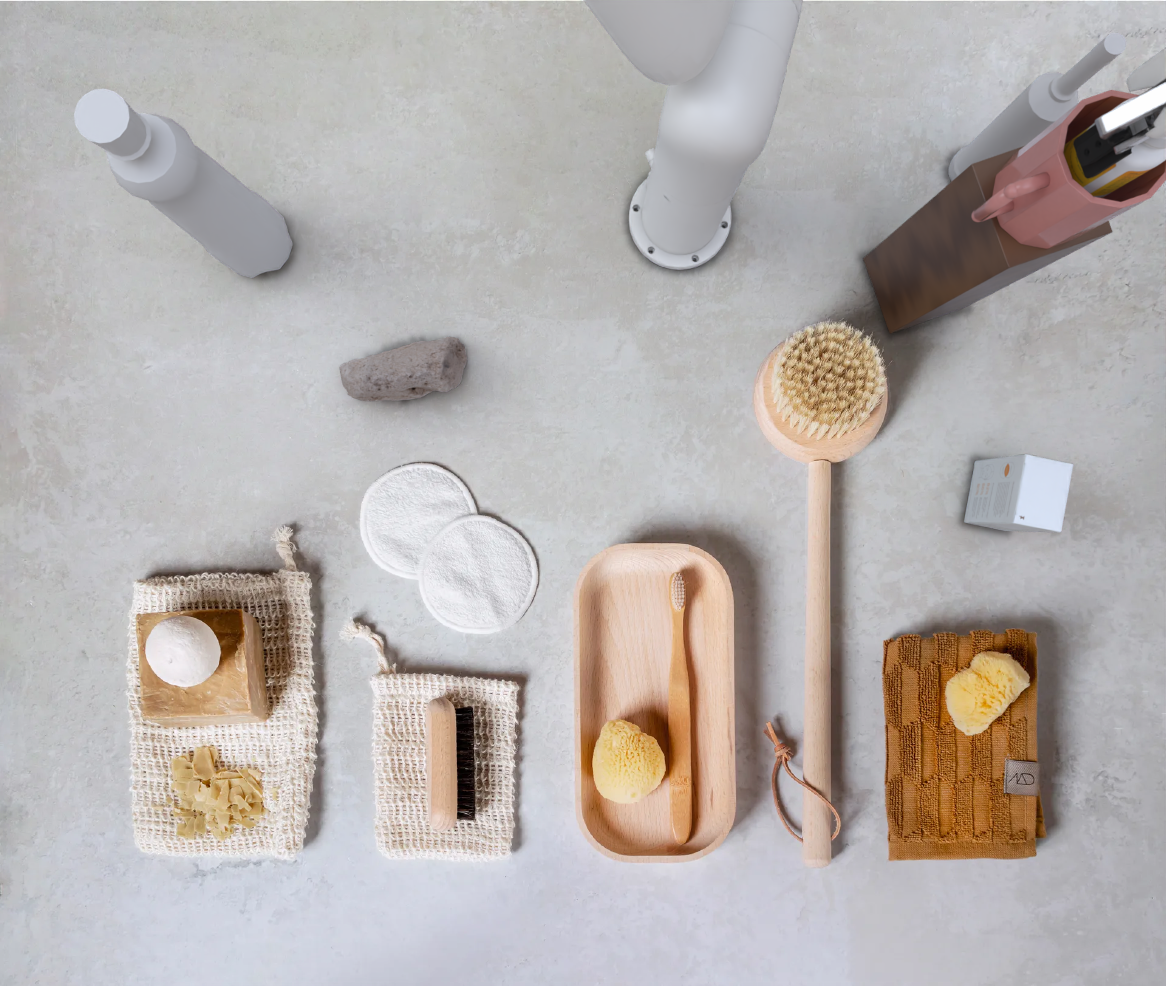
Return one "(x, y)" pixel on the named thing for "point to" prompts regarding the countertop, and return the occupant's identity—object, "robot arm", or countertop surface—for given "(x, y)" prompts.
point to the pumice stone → (406, 371)
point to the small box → (1019, 493)
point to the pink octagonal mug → (1060, 184)
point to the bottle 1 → (185, 184)
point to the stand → (955, 252)
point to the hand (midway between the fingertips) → (1121, 145)
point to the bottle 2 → (1036, 107)
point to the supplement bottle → (1118, 163)
